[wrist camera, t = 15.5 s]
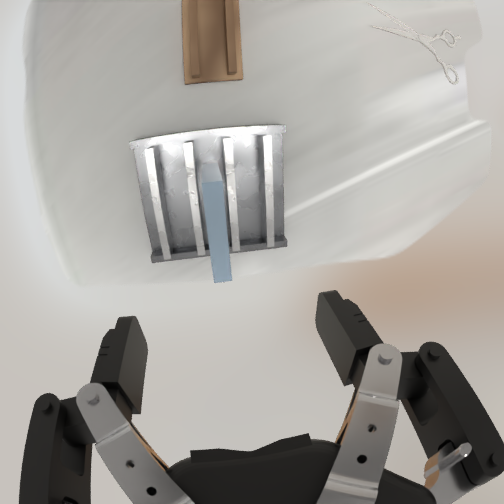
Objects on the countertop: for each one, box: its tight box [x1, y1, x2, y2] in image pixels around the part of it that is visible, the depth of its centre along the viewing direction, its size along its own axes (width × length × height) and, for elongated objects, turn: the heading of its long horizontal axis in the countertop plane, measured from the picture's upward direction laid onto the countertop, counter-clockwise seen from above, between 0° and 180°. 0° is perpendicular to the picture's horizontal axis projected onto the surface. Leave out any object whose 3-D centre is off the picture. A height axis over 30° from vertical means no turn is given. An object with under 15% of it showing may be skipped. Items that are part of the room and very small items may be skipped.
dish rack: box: [129, 125, 287, 263], centre depth 29 cm, size 16×14×4 cm
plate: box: [202, 163, 232, 283], centre depth 26 cm, size 2×9×9 cm, turn 3°
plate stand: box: [182, 0, 243, 85], centre depth 21 cm, size 6×11×3 cm, turn 3°
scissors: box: [366, 2, 461, 84], centre depth 24 cm, size 11×1×20 cm
